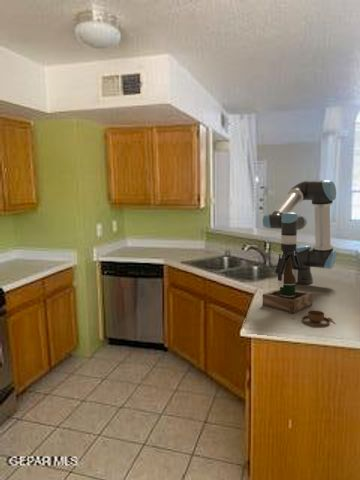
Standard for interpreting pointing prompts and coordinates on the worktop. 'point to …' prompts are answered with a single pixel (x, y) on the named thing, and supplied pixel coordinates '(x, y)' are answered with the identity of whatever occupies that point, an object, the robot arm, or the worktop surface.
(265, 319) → the worktop surface
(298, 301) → the caddy
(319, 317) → the brown cup and saucer
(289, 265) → the beer bottle
